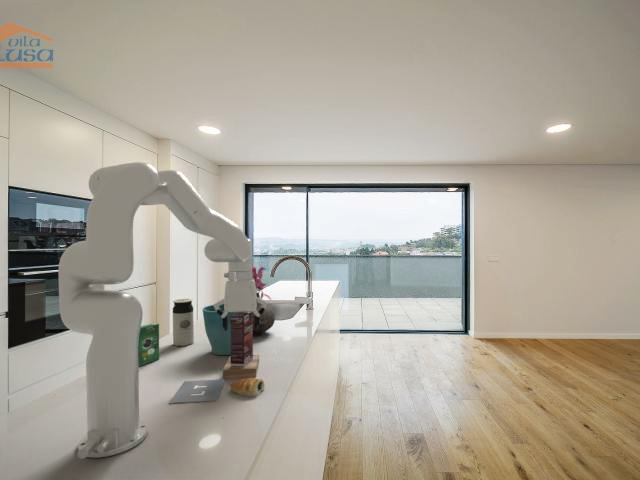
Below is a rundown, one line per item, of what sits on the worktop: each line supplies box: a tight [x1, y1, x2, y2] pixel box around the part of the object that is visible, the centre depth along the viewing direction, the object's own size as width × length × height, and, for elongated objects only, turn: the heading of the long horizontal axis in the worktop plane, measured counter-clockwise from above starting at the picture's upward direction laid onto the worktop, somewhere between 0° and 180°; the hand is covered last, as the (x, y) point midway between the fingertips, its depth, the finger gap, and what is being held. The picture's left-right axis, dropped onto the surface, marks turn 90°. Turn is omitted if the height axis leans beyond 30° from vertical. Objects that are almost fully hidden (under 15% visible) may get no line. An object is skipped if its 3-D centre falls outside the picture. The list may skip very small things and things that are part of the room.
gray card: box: [168, 378, 226, 405], centre depth 99 cm, size 14×12×1 cm
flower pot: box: [201, 303, 238, 356], centre depth 135 cm, size 18×18×17 cm
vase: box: [252, 266, 276, 336], centre depth 159 cm, size 17×17×30 cm
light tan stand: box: [222, 354, 260, 379], centre depth 114 cm, size 13×10×2 cm
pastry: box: [229, 377, 266, 397], centre depth 98 cm, size 9×7×4 cm
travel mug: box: [172, 298, 195, 347], centre depth 146 cm, size 8×8×18 cm
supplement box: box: [230, 312, 254, 367], centre depth 114 cm, size 9×5×16 cm, turn 172°
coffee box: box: [138, 322, 160, 367], centre depth 123 cm, size 8×3×13 cm, turn 156°
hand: (241, 328), depth 114 cm, fingers open, 9 cm apart
